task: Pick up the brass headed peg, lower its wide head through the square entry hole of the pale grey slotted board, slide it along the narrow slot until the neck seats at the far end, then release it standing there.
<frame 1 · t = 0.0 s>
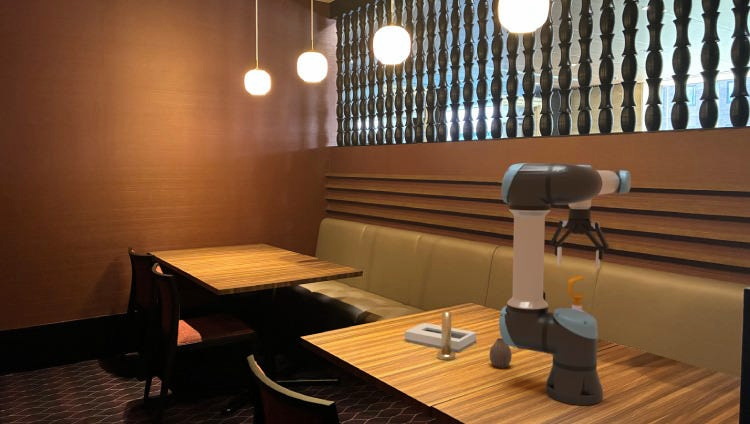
hand: (578, 266, 203), 28 cm above the table, fingers open, 13 cm apart
spray can: (534, 347, 201), on the table
vase: (500, 366, 181), on the table
peg: (446, 357, 189), on the table
soap bottle: (575, 344, 204), on the table
board: (440, 341, 206), on the table
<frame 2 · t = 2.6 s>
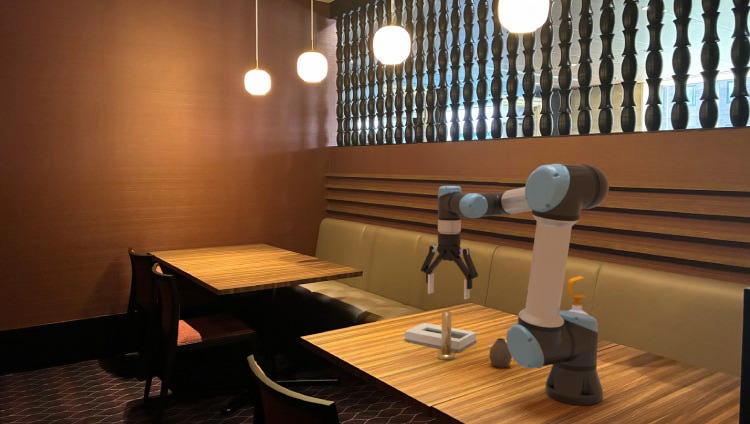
hand: (448, 295, 188), 21 cm above the table, fingers open, 13 cm apart
nothing on the table moved.
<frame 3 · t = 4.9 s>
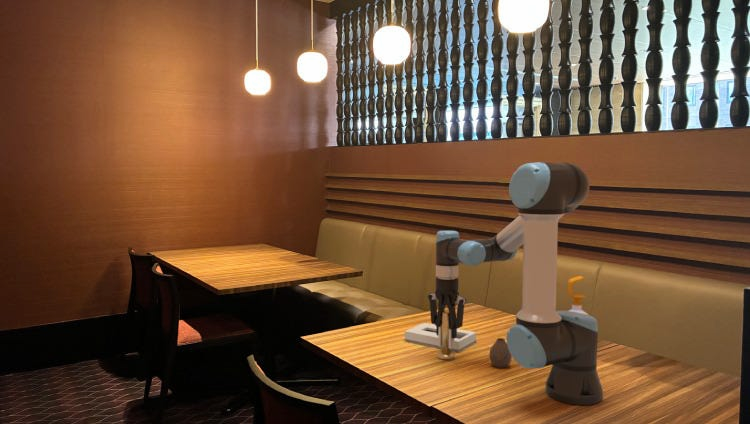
hand: (446, 346, 189), 4 cm above the table, fingers closed on peg, 3 cm apart
peg: (446, 357, 189), on the table, touching gripper
everything else where it was.
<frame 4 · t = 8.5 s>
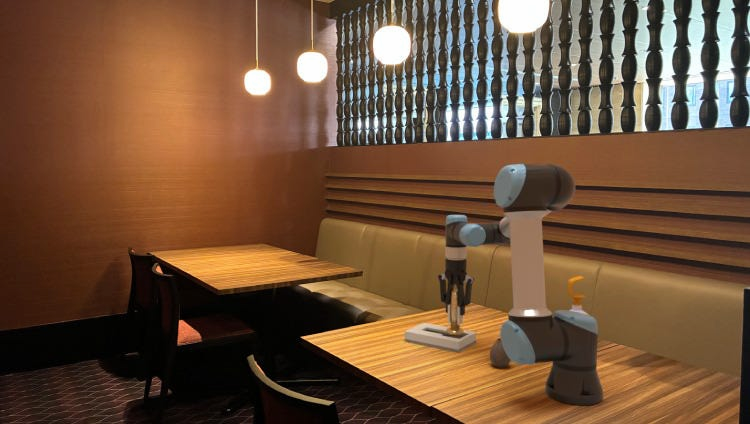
hand: (455, 322, 202), 8 cm above the table, fingers closed on peg, 3 cm apart
peg: (455, 333, 202), point 4 cm above the table, touching gripper
everything else where it was.
when the fingers open (5 cm above the table, at t = 12.0 s): peg stays where it is, resting on board.
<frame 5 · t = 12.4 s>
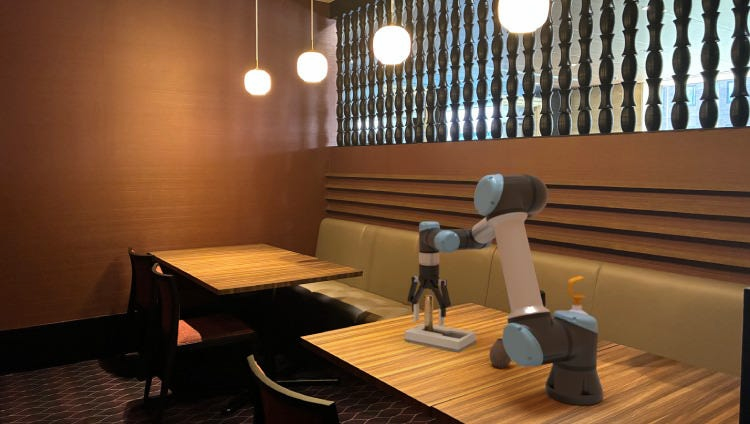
hand: (428, 323, 209), 6 cm above the table, fingers open, 10 cm apart
peg: (428, 336, 209), point 1 cm above the table, touching board
everything else where it was.
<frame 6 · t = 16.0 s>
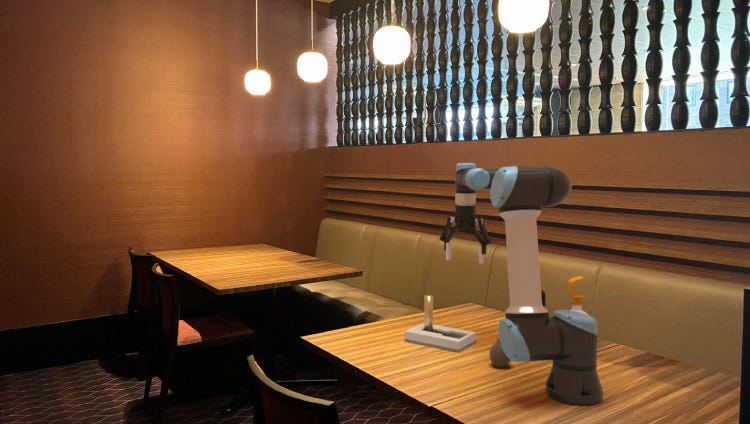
hand: (464, 261, 211), 29 cm above the table, fingers open, 13 cm apart
nothing on the table moved.
at the end: peg 0.2 cm from the target spot on the board, point 1.0 cm above the board's base; peg tilted 0°; the gripper is holding nothing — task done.
